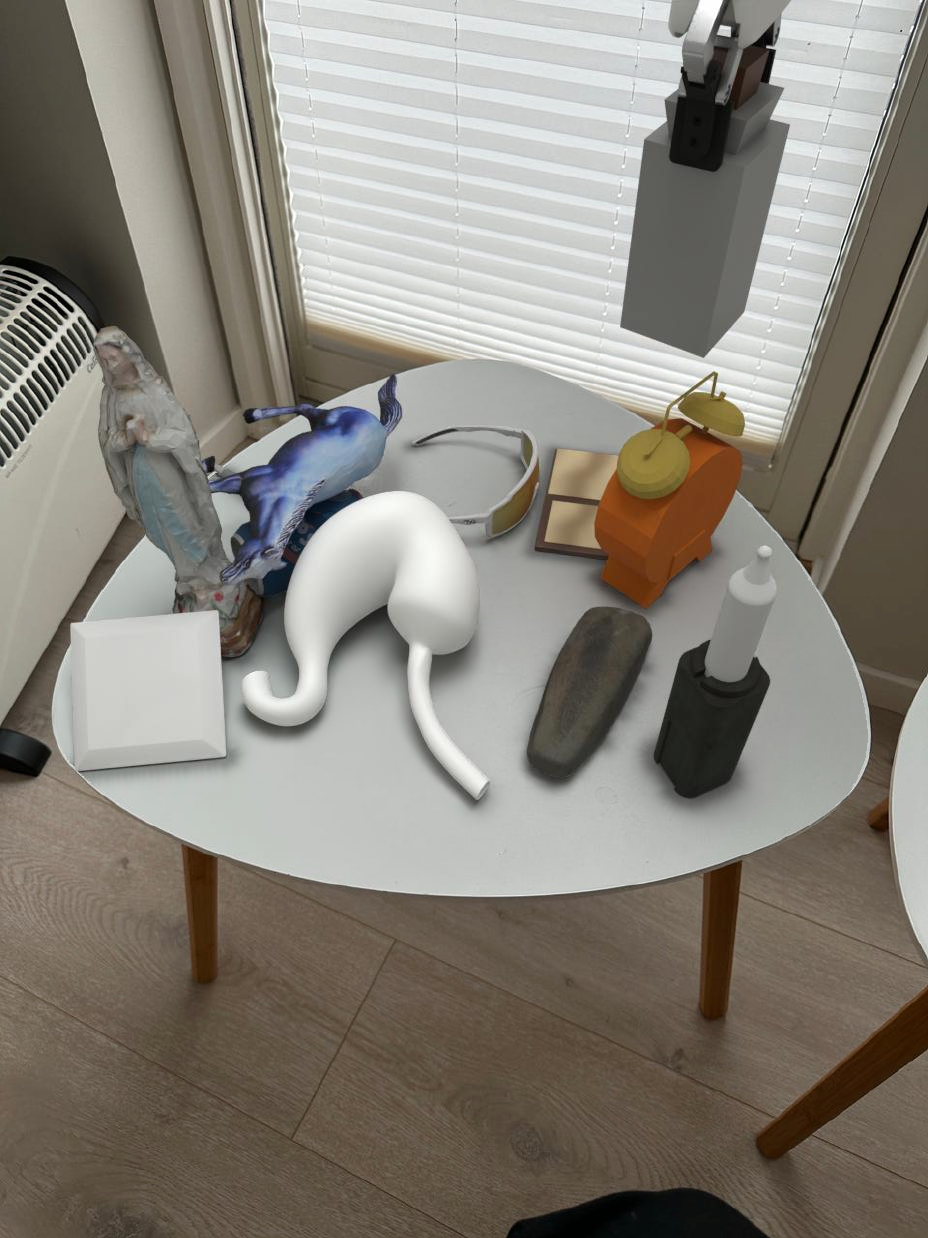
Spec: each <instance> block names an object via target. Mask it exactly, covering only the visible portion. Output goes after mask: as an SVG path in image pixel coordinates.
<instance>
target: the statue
mask: <svg viewBox="0 0 928 1238" xmlns="http://www.w3.org/2000/svg"><path fill="white" fill-rule="evenodd" d="M92 347H93V350H92V351H93V354H94V356H95V358H96V360H97V363H98V365H99V367H100V370H101V372H102V379H101V382H102V383H103V387H102V389H101V397H100V402H99V419H98V420H99V421H98V426H97V436H98V438H97V439H98V443H99V448H100V451H101V455H102V458H103V459H104V460H103V461H104V465H105V469H106V472H107V475H108V477H109V480H110V483H111V486H112V489H113V492H114V494H115V496H116V497H117V498H118V499H119V500H120V502H121V505H122V506H123V507H124V508H125V511H126V515H127V517H128V518H129V519H130V520H131V521H133V520H134V521H136V523H137V524H138V525H139V527H140V528H141V529H142V530H143V532H144V534H145V537H146V539H148V541H149V542H150V543H151V544H153V546H155V548H157V549H159V550H160V551H161V552H163V553H164V554H166V556H167V557H168V559H169V560H170V562H171V563H172V565H173V567H174V570H175V573H174V581H175V582H176V584H175V589H174V600H173V606H172V610H171V611H172V614H178V613H189V612H201V611H212V610H217V611H218V612H219V629H220V648H221V657H225V658H236V657H240V656H242V655H243V654H245V652H246V651H247V650H248V649H249V647H250V646H251V645H252V643H253V641H254V639H255V636H256V633H257V631H258V630H259V627H260V624H261V621H262V619H263V618H264V617H263V616H264V613H265V612H264V611H265V606H266V604H265V603H266V602H265V599H263V598H262V597H261V595H257V594H256V592H255V591H254V590H253V589H251V587H250V586H249V584H248V585H247V584H246V582H245V580H241V581H239V582H238V583H237V584H234V585H225V584H223V583H222V582H221V581H220V578H219V576H220V572H221V571H222V570H224V569H225V568H227V567H229V566H230V565H231V564H232V563H233V561H230V559H228V556H227V554H226V551H225V549H224V543H223V541H222V534H223V527H222V524H221V520H220V517H219V515H218V511H217V509H216V507H215V504H214V502H213V501H214V500H213V496H212V494H211V489H210V485H209V480H210V479H209V478H208V473H206V471H205V469H204V467H203V465H202V463H201V461H202V455H201V448H200V440H199V438H198V437H197V431H196V429H195V427H194V424H193V421H192V420H191V414H190V413H188V412H187V410H186V409H185V408H184V406H183V405H182V404H181V402H180V401H179V400H178V398H177V396H176V395H175V394H174V393H173V392H172V390H171V388H170V385H169V384H168V382H167V381H166V380H165V379H164V376H161V375H159V373H157V372H156V370H155V368H154V367H153V366H152V364H151V363H150V362H149V361H148V360H147V358H146V357H145V354H143V352H142V350H141V349H140V347H139V346H138V345H137V343H135V341H133V339H131V338H130V337H129V336H128V335H127V333H126V332H125V331H123V330H122V329H120V328H119V327H118V326H117V325H110V326H106V327H103V328H100V329H99V332H98V333H97V334H96V335H95V337H94V341H93V346H92Z"/></svg>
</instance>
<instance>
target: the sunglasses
mask: <svg viewBox="0 0 928 1238" xmlns="http://www.w3.org/2000/svg"><path fill="white" fill-rule="evenodd" d="M481 431H482V432H484V431H485V432H494V433H498V434H501V435H503V436H505V437H512V438H516V439H520V451H519V459H520V461H521V462H522V464H523V466H524V468H525V470H526V471H525V472H524V475H523V476H522V478H521V479H520V480H519V482H518V483H517V484H516V485H515V486H514V487H513V488H512V489H511V490H510V491H509V492H508V493H507V494H506V496H505V497H504V499H502V500H500V501H499V502H498V503H497V504H495V505H493V506H491V507H490V508H488V509H487V510H486V512H480V513H473V514H467V515H466V514H465V515H459V516H447V518H448V519H449V520H450V522H451V523H452V524H460V525H463V526H472V525H476V524H484V525H485V534H486V536H487V537H489V538H494V537H498V536H501V535H503V534H505V533H507V532H509V531H511V530H512V529H513V528H515V527H516V526H518V525H519V524H520V523H521V522H522V521H523V519H524V518H526V516H527V514H528V513H529V511H530V509H531V507H532V505H533V503H534V500H535V498H536V495H537V492H538V490H539V488H540V483H539V482H540V481H539V478H540V460H539V459H540V458H539V445H538V441H537V439H536V438H535V436H534V435H533V434H532V432H531V431H530V430H528V429H522V428H516V427H512V426H504V425H488V424H486V425H485V424H482V425H481V424H473V425H472V424H471V425H470V424H468V425H452V426H447V427H444V428H440V429H437V430H435V431H432V432H430V433H427V434H425V435H423V436H421V437H419V438H417V439H415V440H413V441H412V442H411V444H412V445H414V446H419V445H422V444H423V443H426V442H428V441H430V440H432V439H435V438H438V437H441V436H444V435H447V434H452V433H460V432H461V433H462V432H464V433H466V432H467V433H471V432H481Z"/></svg>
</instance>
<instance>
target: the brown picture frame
mask: <svg viewBox="0 0 928 1238" xmlns="http://www.w3.org/2000/svg"><path fill="white" fill-rule="evenodd" d="M618 455H619V454H618ZM618 455H616V454H608V453H602V452H601V453H600V452H592V451H583V450H575V449H567V448H559V447H558V448H555V450H554V454H553V460H552V464H551V469H550V473H549V478H548V482H547V488H546V493H545V495H544V496H545V497H544V502H543V506H542V510H541V515H540V520H539V525H538V528H537V529H538V530H537V535H536V539H535V545H534V551H537V552H544V553H552V554H558V555H559V554H560V555H565V556H574V557H581V558H588V559H597V560H603V561H607V560H608V557H609V554H608V553H606V552H605V551H603V550H602V549H601V547H600V546H599V544H598V542H597V540H596V538H595V530H594V522H595V518H596V514H597V510H598V505H599V502H600V500H601V498H602V495H603V493H604V491H605V488H606V486H607V484H608V482H609V480H610V479H611V477H612V475H613V474H614V472H615V470H616V469H617V460H618Z"/></svg>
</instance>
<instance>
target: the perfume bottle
mask: <svg viewBox="0 0 928 1238" xmlns="http://www.w3.org/2000/svg"><path fill="white" fill-rule="evenodd" d="M768 53H769V49H764V48H760V47H755V46H751V45H749V46H748V47H746V48H744V49H743V52H742V56H741V59H740V62H739V66H738V69H737V72H736V76H735V79H734V83H733V86H732V89H731V93H730V96H729V99H734V100H735V101H734V106H733V111H732V117H731V122H730V127H729V132H728V137H727V142H726V147H725V152H724V157H723V162H722V165H721V167H720V168H719V169H718V170H717V171H716V172H710V171H706V170H701V169H697V168H693V167H688V166H684V165H679V164H675V163H672V162H671V161H670V159H669V152H670V146H671V139H672V132H673V126H674V119H675V113H676V106H677V100H678V88H677V89H676V90H674V91H673V92H672V93H671V94H670V95H668V96H667V97H665V98H664V107H665V115H666V116H665V117H666V121H665V122H663V123H662V124H661V125H660V126H659V127H657V128H656V129H655V130H653V131H652V132H651V133H650V134H648V135H647V136H646V137H645V138H643V145H642V153H641V160H640V161H641V162H640V169H639V178H638V185H637V192H636V199H635V200H636V201H635V207H634V216H633V222H632V223H633V224H632V231H631V238H630V247H629V255H628V262H627V269H626V277H625V286H624V293H623V294H624V295H623V301H622V308H621V315H620V316H621V317H620V325H619V328H621V329H624V330H627V331H629V332H632V333H634V334H637V335H640V336H643V337H645V338H648V339H650V340H654V341H656V342H659V343H662V344H664V345H667V346H670V347H672V348H675V349H678V350H681V351H684V352H686V353H688V354H692V355H694V356H697V357H699V358H703V359H705V357H706V356H707V355H708V354H709V353H710V352H711V351H712V350H713V349H714V347H716V345H717V344H718V343H719V342H720V340H721V339H722V338H723V337H724V336H725V335H726V334H727V332H728V331H730V329H731V328H732V327H733V326H734V324H735V323H736V322H738V320H739V319H740V318H741V317H742V315H744V313H745V311H746V306H747V304H748V298H749V295H750V292H751V291H750V290H751V286H752V283H753V279H754V274H755V270H756V266H757V262H758V258H759V253H760V249H761V245H762V241H763V237H764V233H765V229H766V225H767V221H768V217H769V213H770V209H771V204H772V201H773V196H774V192H775V188H776V184H777V180H778V175H779V172H780V168H781V164H782V160H783V156H784V152H785V148H786V143H787V140H788V135H789V131H790V127H791V124H790V123H786V122H782V121H779V120H774V119H771V117H772V116H773V114H774V112H775V110H776V107H777V105H778V103H779V101H780V99H781V96H782V95H783V92H784V91H785V87H783V86H780V85H779V86H778V85H775V84H772V83H771V84H770V83H769V84H767V83H763V82H760V80H761V77H762V73H763V70H764V67H765V63H766V60H767V57H768ZM727 54H728V53H727V52H721V51H716V50H714V54H713V57H712V60H717V61H718V62H719V67H720V73H721V75H722V71H723V68H724V64H725V61H726V57H727Z"/></svg>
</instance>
